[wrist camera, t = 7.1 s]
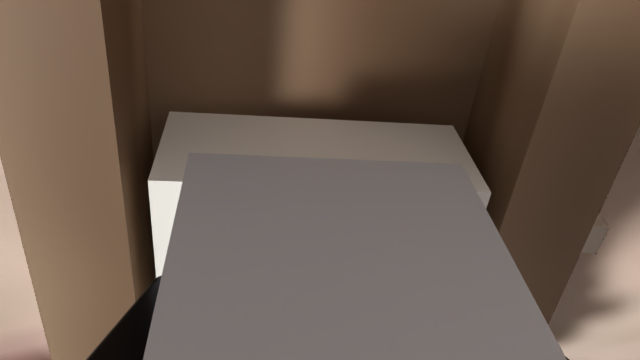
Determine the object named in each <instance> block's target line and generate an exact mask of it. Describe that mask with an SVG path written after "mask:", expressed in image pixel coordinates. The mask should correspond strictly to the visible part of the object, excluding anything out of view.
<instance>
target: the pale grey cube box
mask: <svg viewBox="0 0 640 360" xmlns="http://www.w3.org/2000/svg"><path fill="white" fill-rule="evenodd" d="M148 189H149V200H150V212H151V224H152V235H153V247H154V258H155V270H156V278H157V277H158V276H161V275H162V276H161V281H160V285H159V290H158V294H157V299H156V303H155V308H154V312H153V317H152V321H151V326H150V330H149V335H148V339H147V344H146V348H145V353H144V357H143V360H567V359H566V357H565V355H564V353H563V351H562V350H561V348H560V346H559V344H558V342H557V340H556V338H555V337H554V335H553V333H552V331H551V329H550V327H549V325H548V324H547V322H546V320H545V318H544V316H543V314H542V312H541V311H540V309H539V307H538V305H537V303H536V301H535V299H534V297H533V296H532V294H531V292H530V290H529V288H528V286H527V284H526V283H525V281H524V279H523V277H522V275H521V273H520V271H519V270H518V268H517V266H516V264H515V262H514V260H513V258H512V257H511V255H510V253H509V251H508V249H507V247H506V245H505V243H504V242H503V240H502V238H501V236H500V234H499V232H498V230H497V229H496V227H495V225H494V223H493V221H492V219H491V217H490V216H489V214H488V212H487V210H486V208H487V205H488V202H489V199H490V196H491V191H490V189H489V188H488V186H487V184H486V182H485V181H484V179H483V177H482V175H481V174H480V172H479V170H478V168H477V167H476V165H475V163H474V161H473V160H472V158H471V156H470V154H469V153H468V151H467V149H466V147H465V146H464V144H463V142H462V140H461V139H460V137H459V135H458V134H457V132H456V130H455V128H454V127H453V125H433V124H413V123H393V122H373V121H352V120H332V119H312V118H292V117H272V116H252V115H232V114H212V113H192V112H172V111H169V115H168V118H167V121H166V124H165V127H164V131H163V134H162V137H161V140H160V143H159V146H158V150H157V153H156V156H155V159H154V162H153V166H152V169H151V172H150V175H149V178H148Z"/></svg>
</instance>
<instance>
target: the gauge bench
mask: <svg viewBox="0 0 640 360" xmlns="http://www.w3.org/2000/svg"><path fill="white" fill-rule="evenodd" d="M169 111H172V112H192V113H212V114H232V115H252V116H272V117H292V118H312V119H332V120H352V121H373V122H393V123H413V124H433V125H453V127H454V128H455V130H456V132H457V134H458V135H459V137H460V139H461V140H462V142H463V144H464V146H465V147H466V149H467V151H468V153H469V154H470V156H471V158H472V160H473V161H474V163H475V165H476V167H477V168H478V170H479V172H480V174H481V175H482V177H483V179H484V181H485V182H486V184H487V186H488V188H489V189H490V191H491V196H490V199H489V202H488V205H487V208H486V210H487V212H488V214H489V216H490V217H491V219H492V221H493V223H494V225H495V227H496V229H497V230H498V232H499V234H500V236H501V238H502V240H503V242H504V243H505V245H506V247H507V249H508V251H509V253H510V255H511V257H512V258H513V260H514V262H515V264H516V266H517V268H518V270H519V271H520V273H521V275H522V277H523V279H524V281H525V283H526V284H527V286H528V288H529V290H530V292H531V294H532V296H533V297H534V299H535V301H536V303H537V305H538V307H539V309H540V311H541V312H542V314H543V316H544V318H545V320H546V322H547V324H548V323H549V321H550V319H551V317H552V314H553V312H554V310H555V308H556V306H557V304H558V301H559V299H560V297H561V295H562V293H563V290H564V288H565V286H566V284H567V282H568V280H569V277H570V275H571V273H572V271H573V269H574V267H575V264H576V262H577V260H578V258H579V256H580V254H597V252H598V250H599V248H600V246H601V244H602V242H603V240H604V237H605V235H606V233H607V231H608V229H609V226H608V224H607V223H606V222H605V221H604V219H603V218H602V217H601V216H600V214H599V212H600V210H601V208H602V206H603V203H604V201H605V199H606V197H607V195H608V193H609V190H610V188H611V186H612V184H613V182H614V179H615V177H616V175H617V173H618V171H619V169H620V166H621V164H622V162H623V160H624V158H625V156H626V153H627V151H628V149H629V147H630V145H631V142H632V140H633V138H634V136H635V134H636V132H637V129H638V127H639V125H640V0H0V157H1V161H2V165H3V169H4V173H5V177H6V181H7V184H8V188H9V192H10V196H11V200H12V204H13V208H14V212H15V216H16V220H17V224H18V228H19V232H20V236H21V240H22V244H23V248H24V252H25V256H26V260H27V264H28V268H29V272H30V276H31V280H32V284H33V288H34V292H35V296H36V300H37V304H38V308H39V312H40V316H41V320H42V324H43V328H44V331H45V335H46V339H47V343H48V347H49V351H50V355H51V359H52V360H86V359H87V358H88V356H89V355H90V354H91V353H92V352H93V351H94V349H95V348H96V347H97V346H98V345H99V344H100V342H101V341H102V340H103V339H104V338H105V337H106V335H107V334H108V333H109V332H110V331H111V330H112V328H113V327H114V326H115V325H116V324H117V323H118V322H119V320H120V319H121V318H122V317H123V316H124V315H125V313H126V312H127V311H128V310H129V309H130V308H131V306H132V305H133V304H134V303H135V302H136V301H137V299H138V298H139V297H140V296H141V295H142V294H143V292H144V291H145V290H146V289H147V288H148V287H149V285H150V284H151V283H152V282H153V281H154V280H155V279H156V270H155V258H154V247H153V235H152V224H151V212H150V200H149V189H148V178H149V175H150V172H151V169H152V166H153V162H154V159H155V156H156V153H157V150H158V146H159V143H160V140H161V137H162V134H163V131H164V127H165V124H166V121H167V118H168V115H169Z"/></svg>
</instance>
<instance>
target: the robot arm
mask: <svg viewBox="0 0 640 360" xmlns="http://www.w3.org/2000/svg"><path fill="white" fill-rule="evenodd" d="M161 276H162V275H161ZM161 276H158V277H157V278H156V279H155V280H154V281H153V282H152V283H151V284H150V285H149V287H148V288H147V289H146V290H145V291H144V292H143V294H142V295H141V296H140V297H139V298H138V299H137V301H136V302H135V303H134V304H133V305H132V306H131V308H130V309H129V310H128V311H127V312H126V313H125V315H124V316H123V317H122V318H121V319H120V320H119V322H118V323H117V324H116V325H115V326H114V327H113V328H112V330H111V331H110V332H109V333H108V334H107V335H106V337H105V338H104V339H103V340H102V341H101V342H100V344H99V345H98V346H97V347H96V348H95V349H94V351H93V352H92V353H91V354H90V355H89V356H88V358H87V359H86V360H143V357H144V353H145V348H146V344H147V339H148V335H149V330H150V326H151V321H152V317H153V312H154V308H155V303H156V299H157V294H158V290H159V285H160V281H161ZM565 357H566V356H565ZM566 359H567V360H569V359H568V358H567V357H566Z"/></svg>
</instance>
